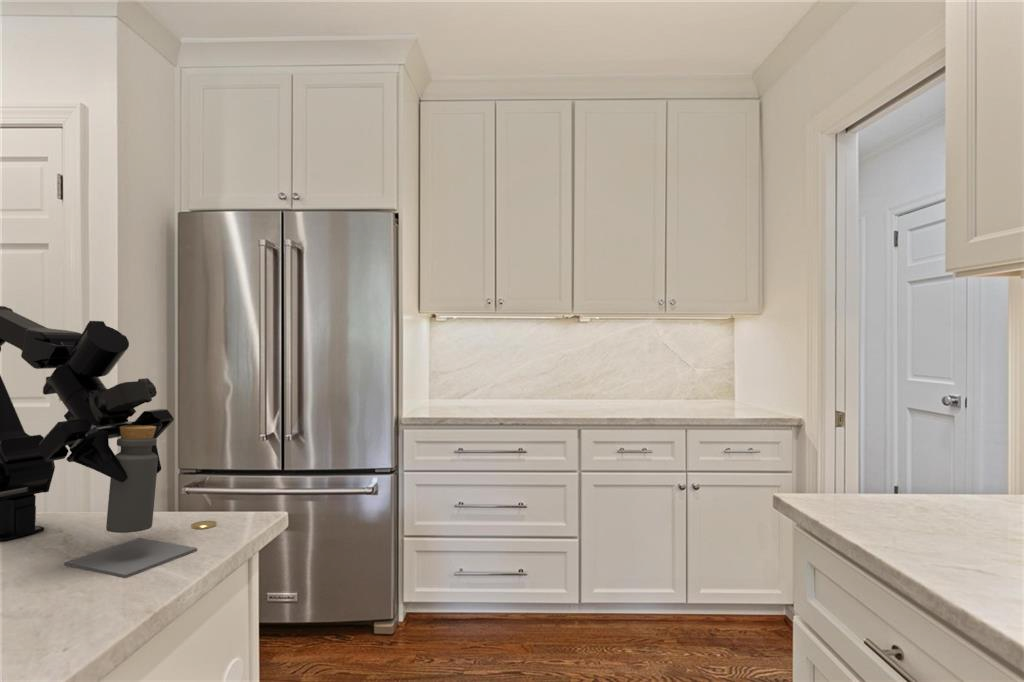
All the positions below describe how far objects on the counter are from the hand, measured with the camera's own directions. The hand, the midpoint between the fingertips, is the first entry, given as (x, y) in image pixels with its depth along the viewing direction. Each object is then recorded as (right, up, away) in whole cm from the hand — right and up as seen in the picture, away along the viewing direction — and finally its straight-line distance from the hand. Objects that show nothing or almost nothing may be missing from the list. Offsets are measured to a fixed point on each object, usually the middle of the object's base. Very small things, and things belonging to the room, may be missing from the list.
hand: (142, 475), depth 92 cm
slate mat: (-2, -12, 0) cm, 12 cm away
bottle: (-2, -8, 0) cm, 8 cm away
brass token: (+1, -12, +16) cm, 21 cm away
